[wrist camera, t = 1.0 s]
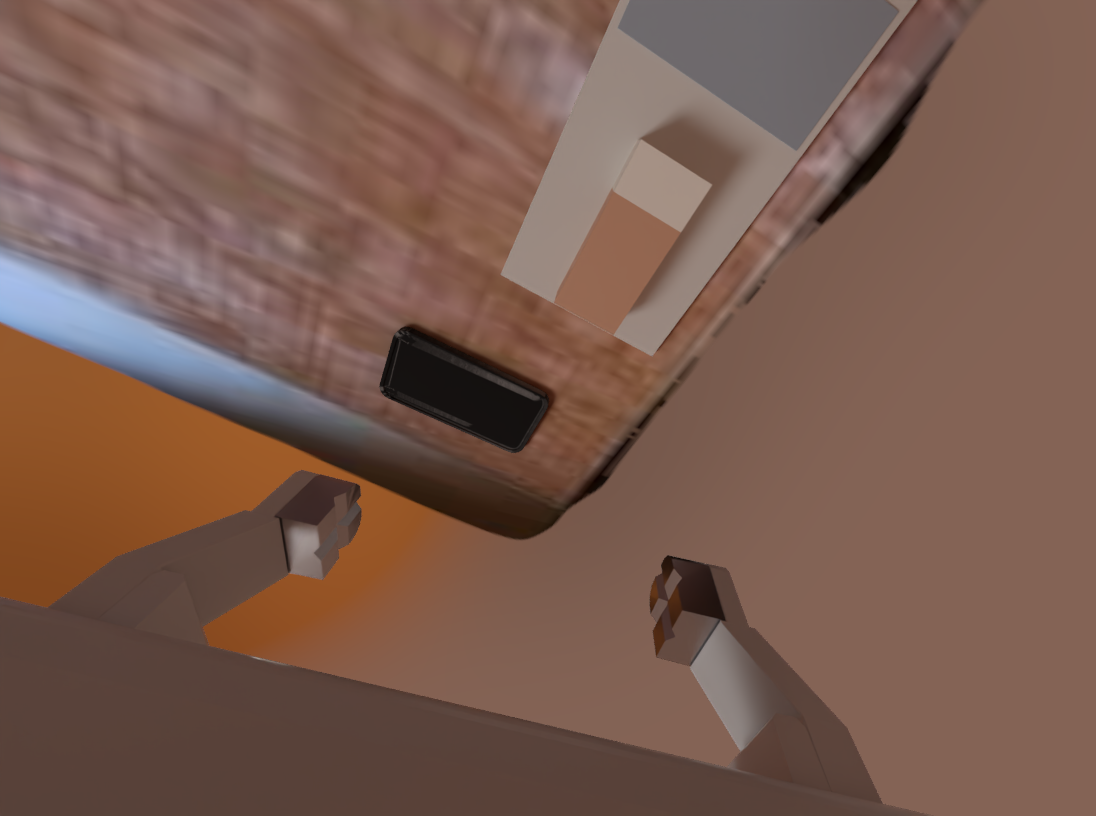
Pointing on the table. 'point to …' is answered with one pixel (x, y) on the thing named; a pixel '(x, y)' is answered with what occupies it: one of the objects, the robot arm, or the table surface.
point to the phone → (461, 391)
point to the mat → (696, 128)
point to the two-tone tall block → (630, 236)
